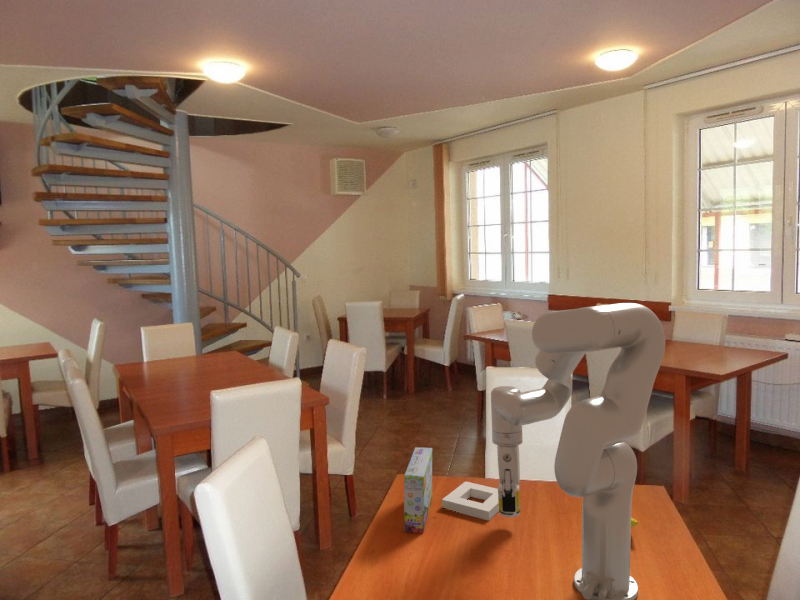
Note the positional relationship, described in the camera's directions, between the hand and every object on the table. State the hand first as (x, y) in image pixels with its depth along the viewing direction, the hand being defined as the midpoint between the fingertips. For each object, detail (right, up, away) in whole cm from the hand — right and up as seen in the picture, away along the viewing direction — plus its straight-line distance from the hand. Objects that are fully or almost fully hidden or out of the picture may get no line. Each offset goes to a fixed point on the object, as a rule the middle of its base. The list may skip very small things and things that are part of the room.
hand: (509, 505), depth 147 cm
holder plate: (-7, -5, +14) cm, 16 cm away
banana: (+28, -5, +1) cm, 29 cm away
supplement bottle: (0, -2, 0) cm, 2 cm away
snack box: (-22, -6, +9) cm, 25 cm away
